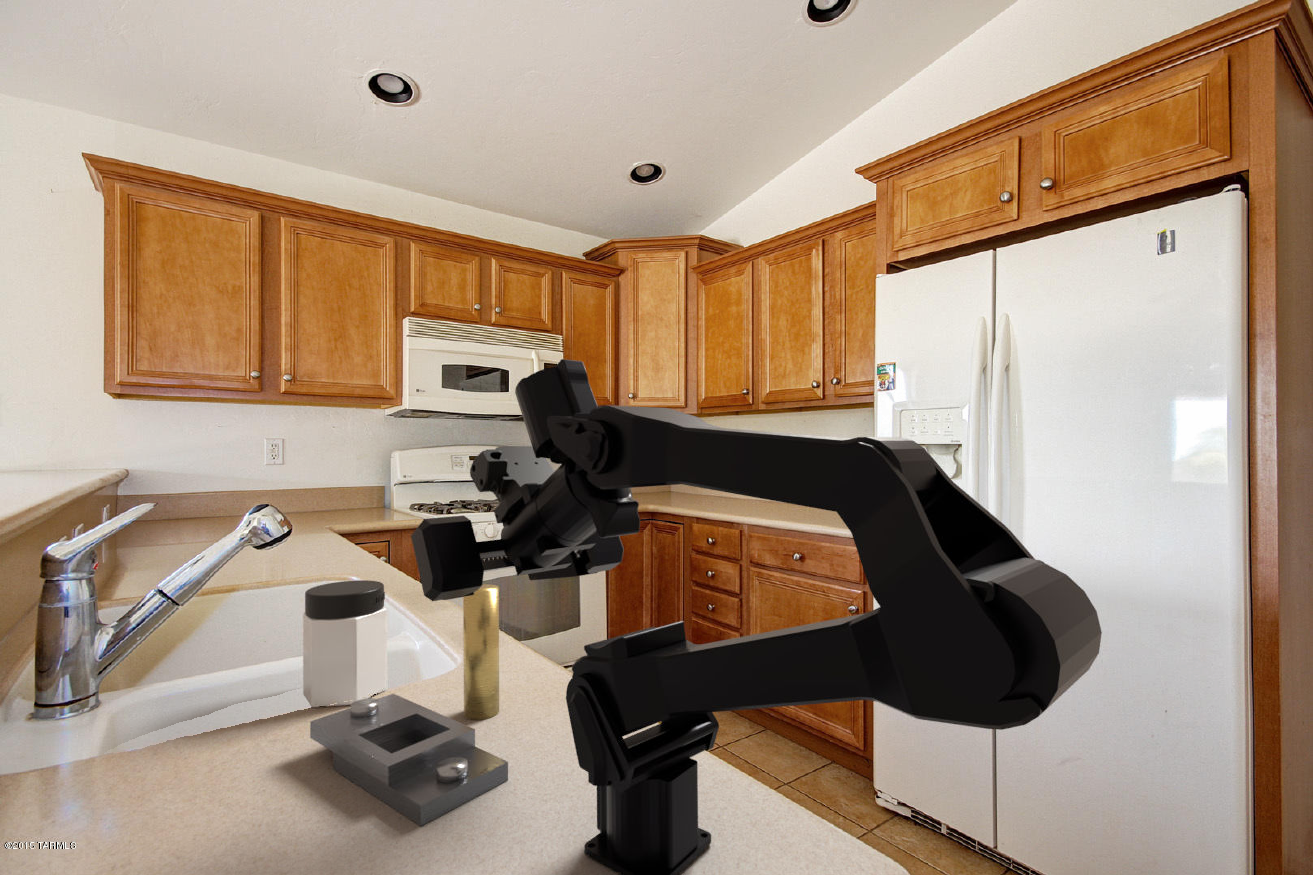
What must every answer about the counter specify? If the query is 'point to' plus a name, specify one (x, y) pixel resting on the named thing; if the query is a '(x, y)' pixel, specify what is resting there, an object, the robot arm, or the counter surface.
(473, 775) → the grey clamp plate
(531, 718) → the counter surface
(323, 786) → the counter surface
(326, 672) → the jar
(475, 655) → the pin
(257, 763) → the counter surface
